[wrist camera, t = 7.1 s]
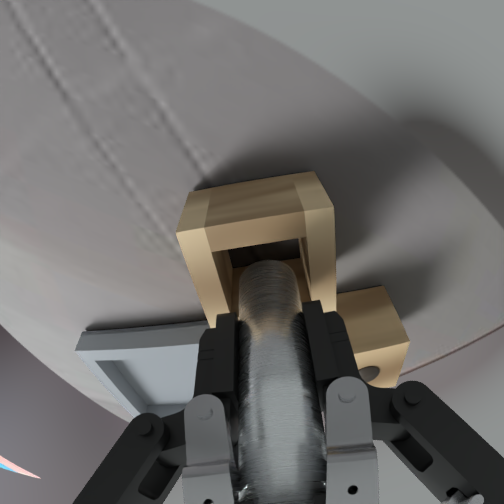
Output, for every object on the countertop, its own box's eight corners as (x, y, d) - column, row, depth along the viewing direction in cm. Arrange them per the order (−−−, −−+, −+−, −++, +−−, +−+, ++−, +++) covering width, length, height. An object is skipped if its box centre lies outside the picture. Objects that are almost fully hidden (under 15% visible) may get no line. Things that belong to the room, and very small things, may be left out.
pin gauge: (233, 264, 14) (228, 510, 6) (293, 255, 14) (338, 500, 6) (244, 307, 16) (248, 521, 7) (298, 299, 15) (332, 513, 7)
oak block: (189, 192, 16) (175, 232, 13) (313, 171, 16) (333, 206, 12) (217, 286, 20) (213, 336, 16) (321, 270, 19) (335, 318, 16)
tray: (82, 331, 22) (74, 350, 21) (230, 317, 21) (229, 340, 20) (142, 407, 29) (139, 423, 27) (258, 401, 28) (259, 419, 26)
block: (311, 298, 21) (326, 360, 17) (383, 285, 20) (410, 342, 16) (314, 345, 24) (325, 402, 19) (376, 333, 23) (395, 386, 19)
